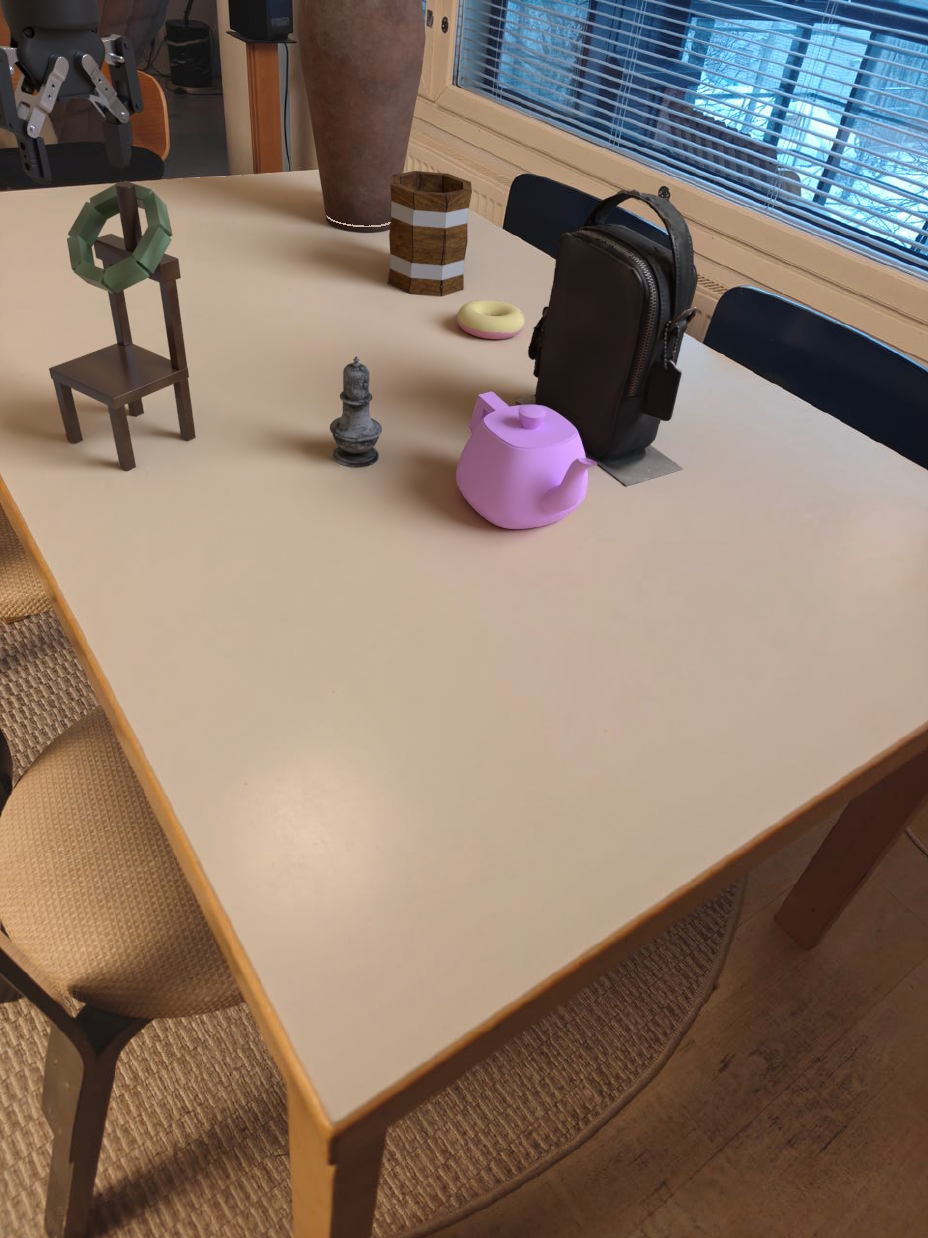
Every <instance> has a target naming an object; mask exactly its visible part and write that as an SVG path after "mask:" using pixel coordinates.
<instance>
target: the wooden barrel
mask: <svg viewBox="0 0 928 1238" xmlns="http://www.w3.org/2000/svg"><path fill="white" fill-rule="evenodd" d="M390 187H391V200H392V205H391V223H390V229H389V233H388V239H389V240H388V241H389V269H388V278H387V285H390V286H391V287H394V288H396V289H398V290H400V291H403V292H405V293H407V294H410V295H420V296H421V295H423V296H435V297H444V296H447V295H450V294H454V293H458V292H460V291H464V290H465V288H464V287H465V285H464V282H465V281H464V270H465V260H466V253H467V247H468V221H469V208H470V204H471V200H472V199H471V197H472V193H473V187H472V182H471V181H470V180H467V179H464V178H461V177H458V176H456V175H453V174H450V173H444V172H434V171H433V172H432V171H422V170H412V171H410V170H404V172H402V173H400V174H394V175H392V177H391V183H390Z"/></svg>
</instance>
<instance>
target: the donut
mask: <svg viewBox="0 0 928 1238" xmlns="http://www.w3.org/2000/svg"><path fill="white" fill-rule="evenodd" d="M456 317H457V318H456V319H457V324H458V325H459V327H460V328H461V330H463V331H464V332H465V333H467V334H469V335H472V336H473V337H477V338H482V339H487V340H504V339H505V340H506V339H510V338H513V337H515V336H517V335H519V333H520V332H522V331H523V329H524V327H525V316H524V313H522V311H521V310H520V309H519V308H518V307H516V306H515V305H513V304H511V303H508V302H506V301H501V300H495V299H478V300H472V301H469V302H467V303H464V304H463V305H462V306H461V307H460V308H459V310H458V312H457V315H456Z"/></svg>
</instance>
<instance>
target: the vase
mask: <svg viewBox="0 0 928 1238" xmlns="http://www.w3.org/2000/svg"><path fill="white" fill-rule="evenodd" d="M423 5H424V4H423V1H422V0H299V5H298V15H297V25H296V28H297V37H298V46H299V48H298V49H299V55H300V57H299V58H300V65H301V70H302V76H303V82H304V87H305V93H306V98H307V104H308V105H307V106H308V109H309V116H310V122H311V128H312V134H313V136H312V137H313V142H314V148H315V155H316V161H317V168H318V175H319V182H320V187H321V193H322V194H321V195H322V202H323V208H324V214H325V213H326V214H325V220H326V223H327V224H329V225H330V226H332V227H333V228H336V229H338V230H342V231H347V232H351V233H360V234H370V233H371V234H372V233H373V234H375V233H381V232H385V231H390V224H389V225H386V226H381V227H353V226H347V225H343V224H339V223H336V222H333V221H331V220H330V219H328V218H327V217H326V215H327V216H328V217H330V218H331V219H333V220H335V221H338V222H341V223H346V224H351V225H352V224H353V225H364V226H369V225H370V226H371V225H381V224H385V223H388V222H391V205H392V200H391V187H390V183H391V177H392V175H394V174H400V173H402V172H405V166H406V160H407V153H408V148H409V142H410V137H411V136H410V135H411V131H412V126H413V125H412V124H413V119H414V113H415V109H416V103H417V99H418V93H419V89H420V84H421V79H422V73H423V65H424V57H425V47H426V40H427V36H426V26H425V15H424V6H423Z"/></svg>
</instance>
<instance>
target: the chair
mask: <svg viewBox="0 0 928 1238" xmlns="http://www.w3.org/2000/svg"><path fill="white" fill-rule="evenodd" d="M134 184H135V183H134ZM134 184H133V182H131V183H130V181H128V182H124V181H121V182H120V181H118V182H116V183H115V184H114V185H115V188H116V194H117V200H118V207H119V217H120V224H121V229H122V235H123V236H122V237H121V236H118V235H115V234H114V233H109V234H104V235H101V236H98V237H97V239H96V241H95V242H94V244H93V249H94V254H95V255H94V256H95V258H96V259H97V260H101V263H102V267H103V268H102V269H107V268H109V267H111V266H113V265H114V264H116V263H118V262H120V261H122V260H124V259H126V258H128V257H130V256H132V254H133V253H134V251H135V249H136V247H137V245H138V244H139V242H140V240H141V238H142V236H143V232H142V231H143V230H142V224H141V220H140V212H139V208H138V204H137V198H136V191H135V185H134ZM180 268H181V267H180V261H179V258H178V257H175V256H174V255H170V254H167V253H166V252H165V253H164V255H163V257H162V259H161V260H160V262H159V264H158V266H157V268H156V269H155V271H154V273H150V272H149V277H148V278H147V279H150V280H151V281H154V282H157V283H158V284H159V290H160V297H161V298H160V299H161V303H162V312H163V318H164V324H165V332H166V339H167V340H166V341H167V345H168V353H169V358H167V357H165V356H163V355H160V354H158V353H156V352H154V351H151V350H149V349H146V348H144V347H141V346H139V345H137V344H135V343H133V337H132V332H131V326H130V319H129V315H128V314H129V313H128V308H127V302H126V297H125V292H124V291H125V290H123V291H121V292H119V293H117V292H114V294H113V293H110V292H108V291H107V296H108V301H109V306H110V312H111V317H112V322H113V328H114V332H115V339H116V343H113V344H111V345H108V346H105V347H103V348H100V349H97V350H95V351H91V352H89V353H86V354H83V355H82V356H78V357H76V358H73V359H71V360H67V361H65V362H62V363H60V364H57V365H54V366H51V367H49V368H48V372H49V375H50V379H51V380H52V383H53V386H54V390H55V394H56V399H57V403H58V408H59V411H60V415H61V419H62V423H63V428H64V432H65V435H66V436H65V437H66V440H67V441H68V442H70V443H72V444H74V445H75V444H77V443H80V442H81V441H83V440H84V438H83V433H82V429H81V425H80V421H79V417H78V412H77V407H76V402H75V398H74V393H73V391H76V392H78V393H81V394H82V395H85V396H87V397H88V398H91V399H93V400H95V401H97V402H99V403H101V404H104V405H106V406H107V410H108V416H109V420H110V424H111V429H112V430H111V431H112V434H113V439H114V444H115V450H116V455H117V459H118V465H119V468H120V469H122V470H123V471H126V472H129V471H131V470H133V469H135V468H137V464H136V459H135V454H134V449H133V443H132V437H131V432H130V427H129V421H128V416H127V411H126V405H127V408H128V412H129V414H130V415H132V416H135V417H138V416H141V415H143V414H145V411H144V405H143V399H142V398H144V397H147V396H149V395H151V394H153V393H156V392H159V391H160V390H163V389H165V388H168V387H170V386H173V392H174V398H175V405H176V412H177V419H178V426H179V432H180V438H181V439H183V440H185V441H186V442H189V441H192V440H193V439H195V438H196V430H195V429H196V428H195V421H194V414H193V405H192V399H191V390H190V382H189V378H190V373H189V367H188V361H187V353H186V346H185V345H186V344H185V339H184V332H183V331H184V330H183V323H182V315H181V308H180V301H179V293H178V286H177V280H179V279H182V276H181V269H180Z"/></svg>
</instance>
